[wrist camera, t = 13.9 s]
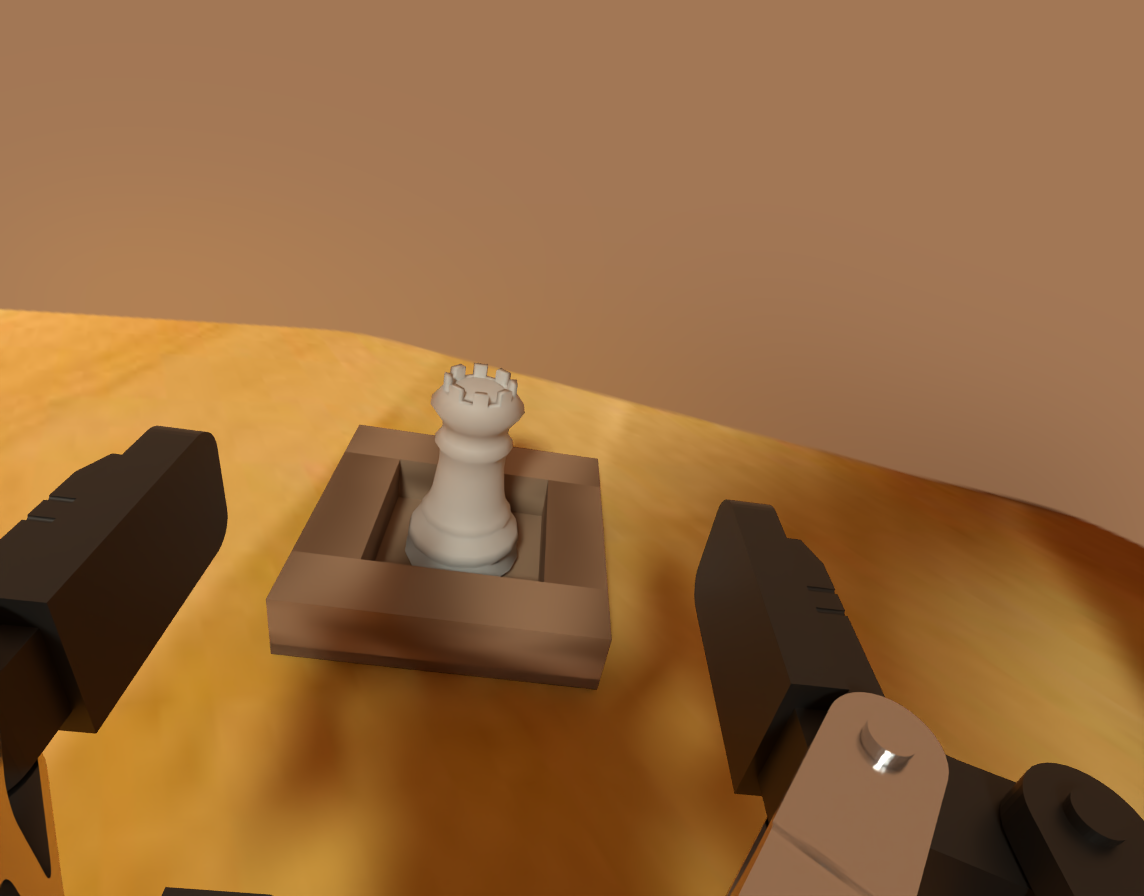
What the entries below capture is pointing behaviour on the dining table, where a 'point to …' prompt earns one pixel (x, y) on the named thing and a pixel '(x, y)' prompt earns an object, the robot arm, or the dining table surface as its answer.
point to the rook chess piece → (469, 478)
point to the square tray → (448, 572)
